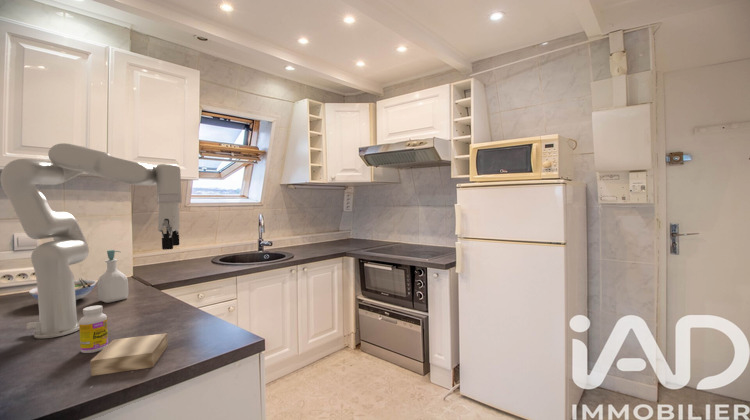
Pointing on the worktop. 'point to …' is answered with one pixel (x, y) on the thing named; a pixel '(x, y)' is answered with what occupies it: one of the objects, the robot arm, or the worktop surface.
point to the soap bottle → (112, 282)
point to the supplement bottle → (93, 330)
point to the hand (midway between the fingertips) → (171, 247)
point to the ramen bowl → (80, 288)
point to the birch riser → (129, 354)
